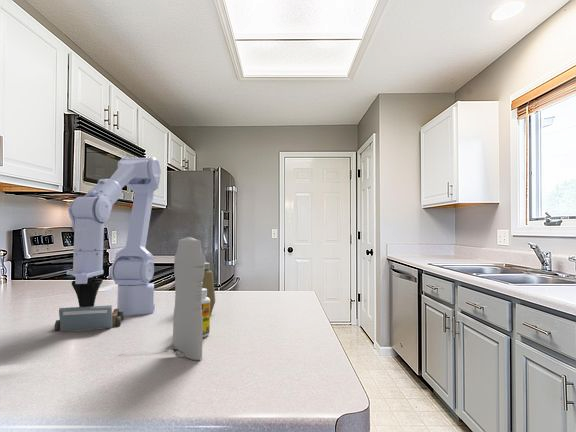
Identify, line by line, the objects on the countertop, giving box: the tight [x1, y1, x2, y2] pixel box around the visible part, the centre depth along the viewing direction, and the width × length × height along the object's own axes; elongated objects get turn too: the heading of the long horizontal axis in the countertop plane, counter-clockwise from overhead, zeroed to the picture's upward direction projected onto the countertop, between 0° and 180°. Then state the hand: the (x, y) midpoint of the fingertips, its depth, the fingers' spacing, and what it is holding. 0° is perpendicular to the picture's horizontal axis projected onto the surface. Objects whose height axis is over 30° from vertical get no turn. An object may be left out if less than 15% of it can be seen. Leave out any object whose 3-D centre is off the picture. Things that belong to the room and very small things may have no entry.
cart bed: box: [53, 308, 124, 332], centre depth 85 cm, size 13×8×4 cm, turn 110°
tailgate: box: [58, 305, 113, 332], centre depth 79 cm, size 10×1×6 cm, turn 110°
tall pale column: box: [172, 236, 206, 362], centre depth 69 cm, size 11×4×22 cm, turn 44°
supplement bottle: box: [202, 288, 211, 339], centre depth 81 cm, size 6×6×10 cm
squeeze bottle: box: [201, 249, 216, 315], centre depth 102 cm, size 8×8×18 cm
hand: (86, 313), depth 79 cm, fingers closed, pressing on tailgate
